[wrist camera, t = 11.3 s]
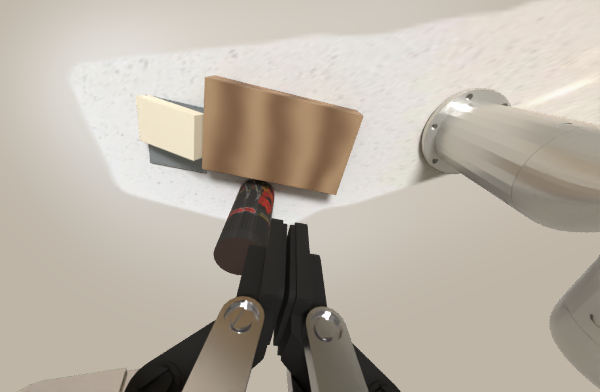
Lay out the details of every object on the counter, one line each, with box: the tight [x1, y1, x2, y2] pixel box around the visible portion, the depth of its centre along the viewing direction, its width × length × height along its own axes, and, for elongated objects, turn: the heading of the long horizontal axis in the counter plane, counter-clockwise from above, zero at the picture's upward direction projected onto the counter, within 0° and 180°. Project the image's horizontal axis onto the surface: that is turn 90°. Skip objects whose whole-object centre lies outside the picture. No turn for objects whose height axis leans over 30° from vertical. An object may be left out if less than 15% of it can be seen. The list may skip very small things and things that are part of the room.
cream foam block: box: [136, 95, 204, 161], centre depth 32 cm, size 9×6×2 cm, turn 77°
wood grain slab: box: [202, 76, 363, 195], centre depth 34 cm, size 20×12×4 cm, turn 77°
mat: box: [149, 96, 207, 173], centre depth 35 cm, size 8×10×1 cm
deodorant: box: [214, 179, 274, 275], centre depth 34 cm, size 6×6×15 cm
